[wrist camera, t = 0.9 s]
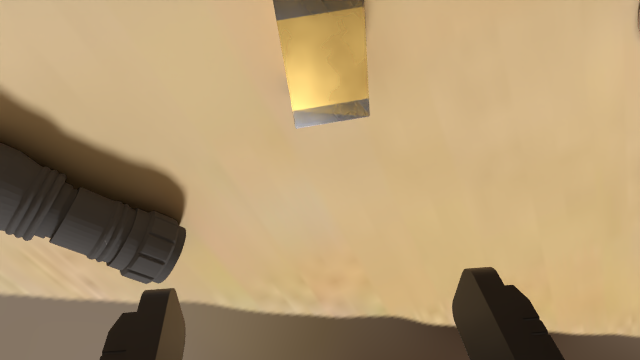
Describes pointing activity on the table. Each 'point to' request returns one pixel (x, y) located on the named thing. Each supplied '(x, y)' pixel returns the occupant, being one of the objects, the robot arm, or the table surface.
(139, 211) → the flashlight
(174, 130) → the table surface
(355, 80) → the coupler
